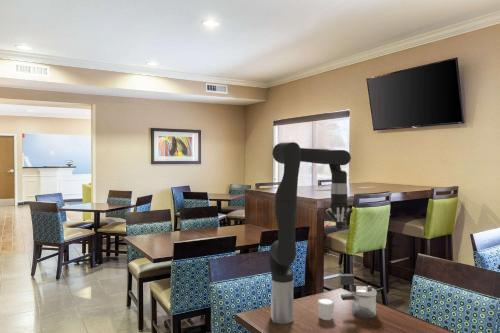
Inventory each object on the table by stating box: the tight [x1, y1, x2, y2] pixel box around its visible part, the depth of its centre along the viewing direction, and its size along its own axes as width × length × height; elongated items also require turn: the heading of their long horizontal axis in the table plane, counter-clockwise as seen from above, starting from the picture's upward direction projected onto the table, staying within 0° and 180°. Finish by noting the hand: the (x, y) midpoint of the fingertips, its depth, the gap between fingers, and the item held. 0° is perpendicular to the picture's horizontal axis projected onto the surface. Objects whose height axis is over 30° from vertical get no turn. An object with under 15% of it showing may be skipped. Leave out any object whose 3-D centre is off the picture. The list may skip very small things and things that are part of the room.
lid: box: [338, 273, 378, 297], centre depth 160 cm, size 16×11×8 cm, turn 95°
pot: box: [340, 292, 377, 319], centre depth 161 cm, size 15×10×9 cm, turn 96°
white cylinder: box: [317, 298, 335, 321], centre depth 157 cm, size 7×7×7 cm
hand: (339, 229), depth 171 cm, fingers closed
